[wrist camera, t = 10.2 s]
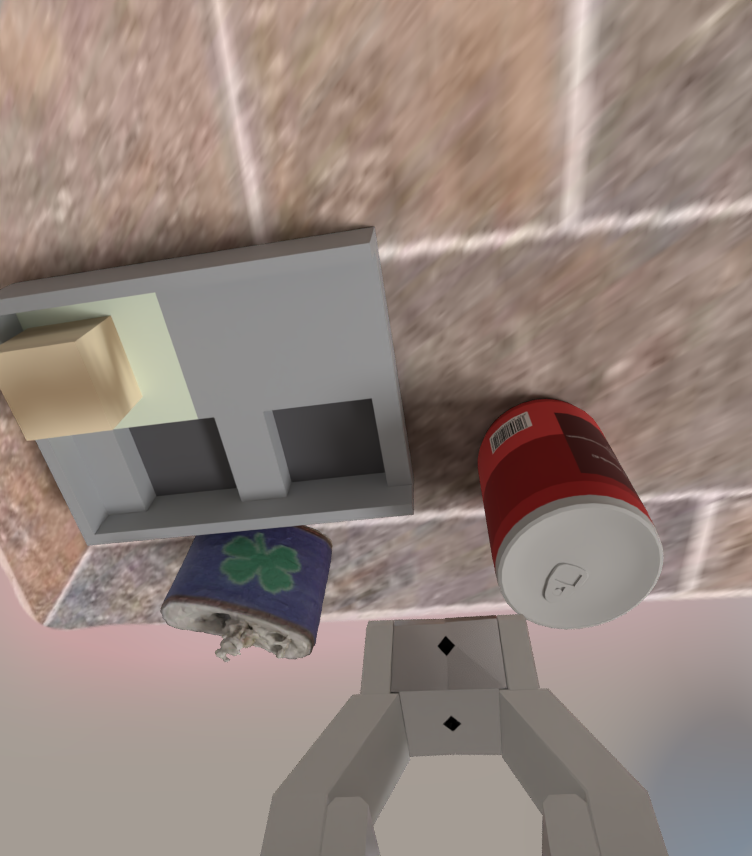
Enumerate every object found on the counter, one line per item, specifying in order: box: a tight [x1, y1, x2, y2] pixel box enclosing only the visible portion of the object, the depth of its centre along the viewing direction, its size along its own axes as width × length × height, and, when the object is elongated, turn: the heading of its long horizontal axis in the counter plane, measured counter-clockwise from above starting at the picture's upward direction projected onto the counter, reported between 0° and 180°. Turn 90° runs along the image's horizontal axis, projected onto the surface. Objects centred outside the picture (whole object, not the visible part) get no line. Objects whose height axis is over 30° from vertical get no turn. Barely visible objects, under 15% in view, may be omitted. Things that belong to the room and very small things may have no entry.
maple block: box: [0, 316, 143, 441], centre depth 33 cm, size 5×5×4 cm
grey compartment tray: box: [0, 227, 414, 546], centre depth 35 cm, size 16×21×4 cm
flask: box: [160, 525, 332, 662], centre depth 38 cm, size 9×3×11 cm, turn 72°
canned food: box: [478, 399, 663, 629], centre depth 33 cm, size 8×8×11 cm
